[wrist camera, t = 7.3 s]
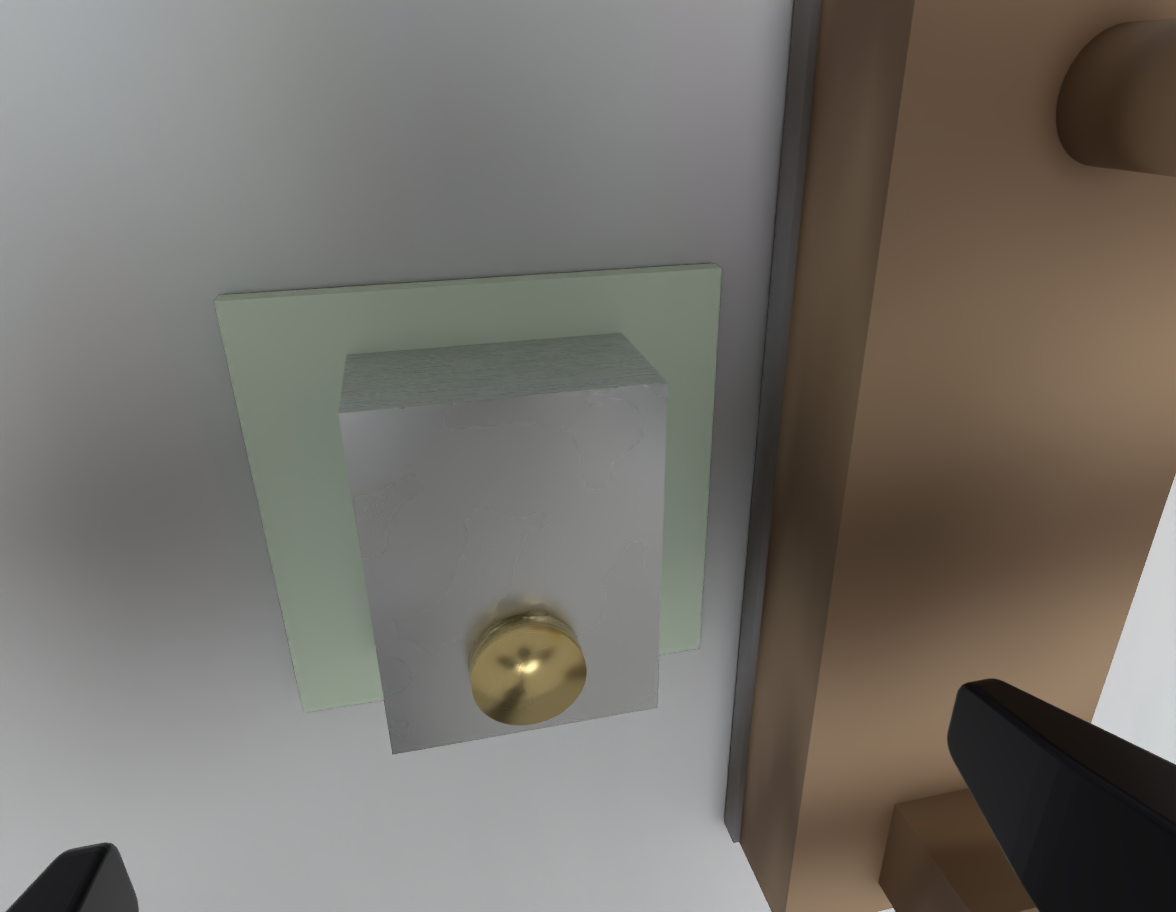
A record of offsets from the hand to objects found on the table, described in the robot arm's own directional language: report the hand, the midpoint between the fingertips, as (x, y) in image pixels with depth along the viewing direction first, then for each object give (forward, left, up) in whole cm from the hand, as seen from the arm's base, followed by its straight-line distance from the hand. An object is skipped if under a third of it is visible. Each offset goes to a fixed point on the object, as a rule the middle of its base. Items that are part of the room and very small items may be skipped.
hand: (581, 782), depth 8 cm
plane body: (-1, -8, -7) cm, 11 cm away
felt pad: (0, 0, -7) cm, 7 cm away
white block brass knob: (0, 0, -7) cm, 7 cm away
